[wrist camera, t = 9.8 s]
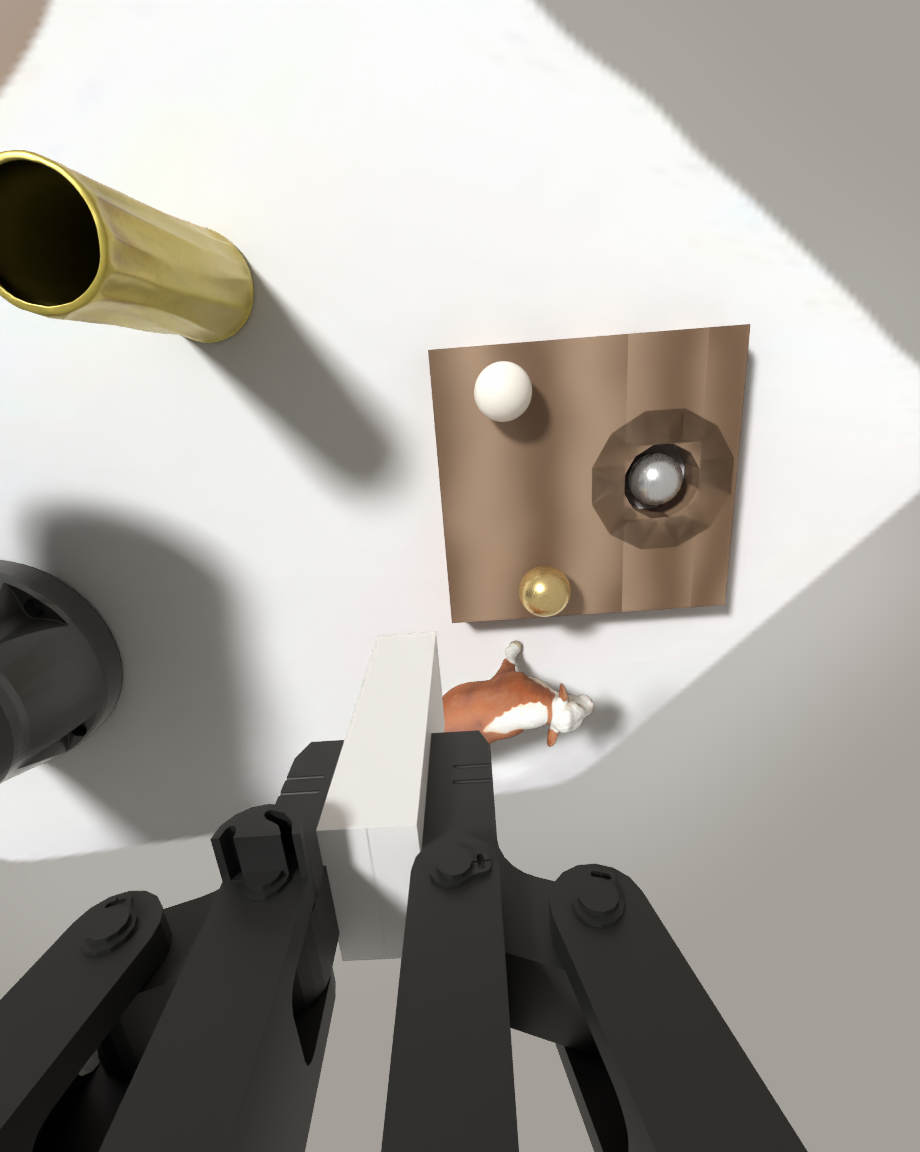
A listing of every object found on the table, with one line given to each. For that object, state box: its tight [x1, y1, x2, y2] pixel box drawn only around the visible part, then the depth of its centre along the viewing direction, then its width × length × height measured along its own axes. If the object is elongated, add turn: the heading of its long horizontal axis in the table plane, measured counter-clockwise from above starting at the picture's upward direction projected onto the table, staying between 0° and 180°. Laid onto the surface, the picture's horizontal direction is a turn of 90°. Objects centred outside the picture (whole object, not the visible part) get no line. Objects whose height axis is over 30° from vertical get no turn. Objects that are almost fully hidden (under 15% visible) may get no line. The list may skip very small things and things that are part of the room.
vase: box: [0, 150, 254, 343], centre depth 27 cm, size 6×6×14 cm
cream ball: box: [474, 361, 532, 422], centre depth 32 cm, size 3×3×3 cm
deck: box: [428, 324, 750, 623], centre depth 36 cm, size 18×17×2 cm
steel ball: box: [628, 453, 683, 505], centre depth 36 cm, size 3×3×3 cm
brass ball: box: [519, 565, 571, 617], centre depth 36 cm, size 3×3×3 cm
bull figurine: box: [442, 641, 594, 747], centre depth 39 cm, size 4×13×8 cm, turn 108°
